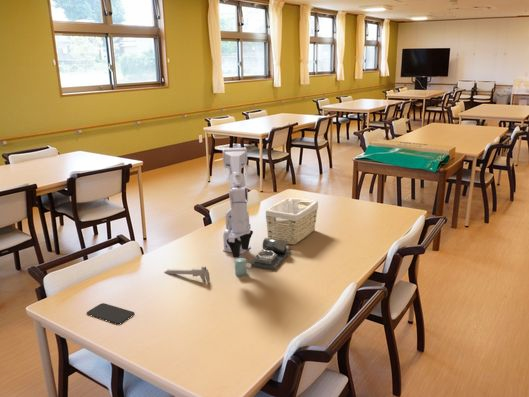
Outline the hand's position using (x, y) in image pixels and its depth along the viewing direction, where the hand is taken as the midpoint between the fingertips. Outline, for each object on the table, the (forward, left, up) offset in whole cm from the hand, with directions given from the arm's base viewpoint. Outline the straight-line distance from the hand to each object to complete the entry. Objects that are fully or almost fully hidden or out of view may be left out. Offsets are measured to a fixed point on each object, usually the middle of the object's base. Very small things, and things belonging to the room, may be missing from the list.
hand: (240, 253), depth 168 cm
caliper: (-18, -10, -9) cm, 23 cm away
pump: (0, 0, -8) cm, 9 cm away
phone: (-27, -41, -9) cm, 50 cm away
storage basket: (+5, +44, -9) cm, 45 cm away
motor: (+5, +16, -8) cm, 19 cm away
